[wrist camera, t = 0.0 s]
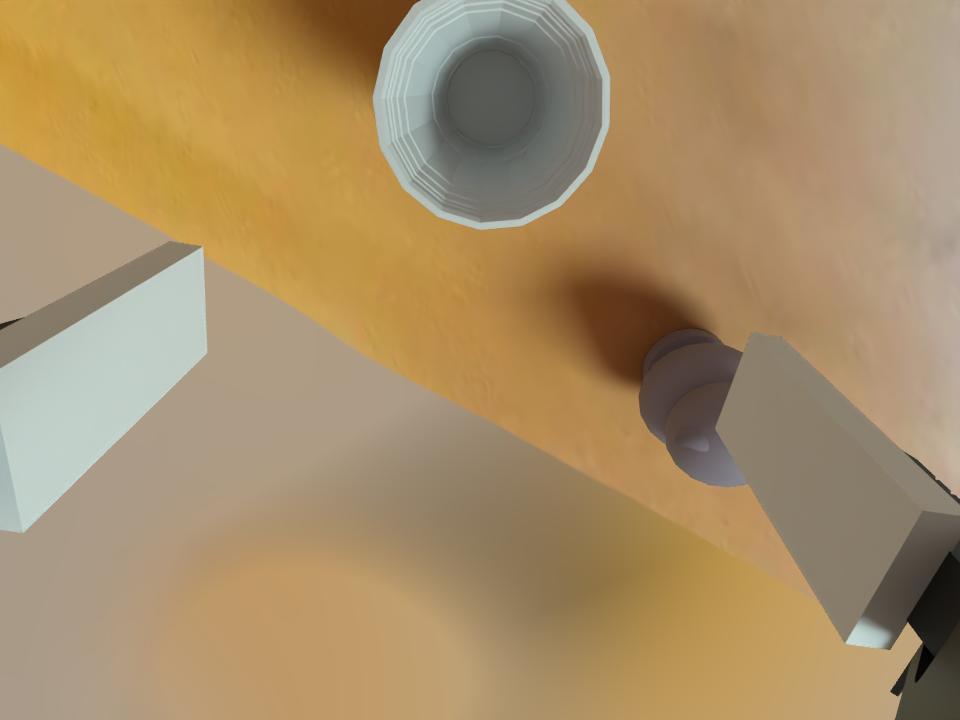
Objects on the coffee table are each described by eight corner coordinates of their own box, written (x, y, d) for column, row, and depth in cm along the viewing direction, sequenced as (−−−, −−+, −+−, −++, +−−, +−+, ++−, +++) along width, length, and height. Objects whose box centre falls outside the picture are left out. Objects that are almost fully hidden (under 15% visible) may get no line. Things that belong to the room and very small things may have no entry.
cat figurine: (622, 414, 48) (659, 516, 37) (630, 320, 44) (673, 401, 34) (734, 413, 47) (804, 515, 37) (750, 318, 44) (833, 399, 33)
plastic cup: (524, 219, 42) (533, 272, 31) (378, 136, 39) (334, 161, 29) (616, 63, 37) (664, 61, 27) (459, -39, 35) (442, -87, 24)
